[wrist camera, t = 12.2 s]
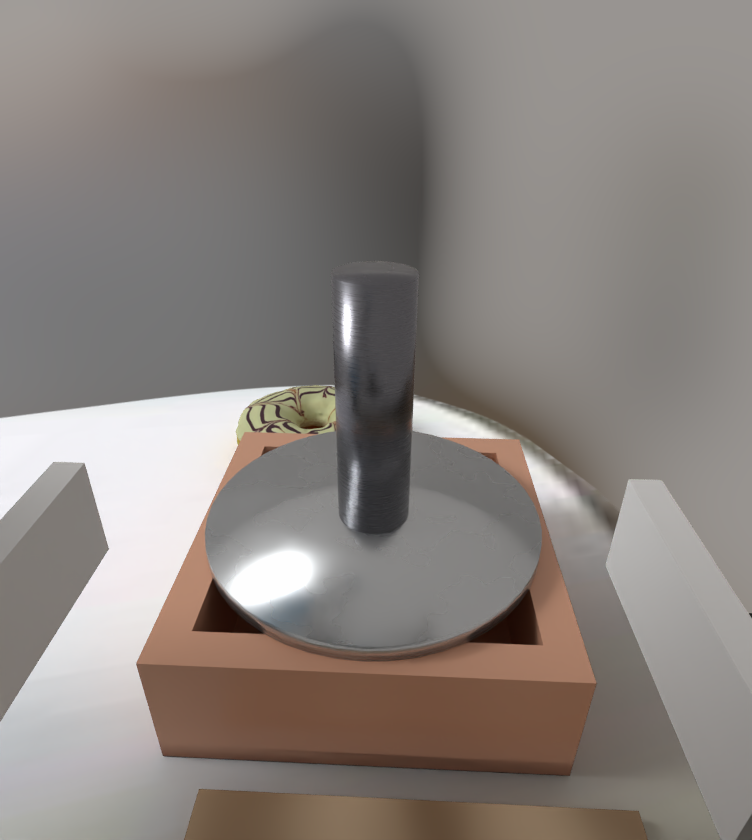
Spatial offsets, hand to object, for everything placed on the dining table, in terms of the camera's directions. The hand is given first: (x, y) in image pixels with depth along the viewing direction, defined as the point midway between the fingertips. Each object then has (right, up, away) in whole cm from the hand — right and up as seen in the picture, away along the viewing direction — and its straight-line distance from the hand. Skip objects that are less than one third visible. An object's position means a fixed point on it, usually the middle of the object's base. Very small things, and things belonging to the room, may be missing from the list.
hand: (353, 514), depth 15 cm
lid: (0, -3, +13) cm, 13 cm away
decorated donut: (-4, 0, +29) cm, 29 cm away
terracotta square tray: (0, -7, +16) cm, 17 cm away
